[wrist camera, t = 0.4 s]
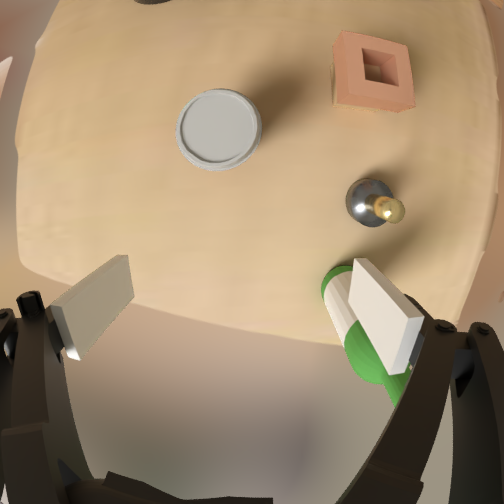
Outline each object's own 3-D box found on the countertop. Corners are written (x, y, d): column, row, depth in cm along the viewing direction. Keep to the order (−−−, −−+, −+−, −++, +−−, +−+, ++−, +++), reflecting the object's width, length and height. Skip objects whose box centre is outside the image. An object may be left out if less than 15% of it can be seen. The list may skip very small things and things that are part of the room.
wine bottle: (367, 295, 44) (455, 428, 15) (326, 311, 45) (382, 464, 16) (357, 256, 42) (468, 380, 13) (313, 273, 43) (379, 428, 14)
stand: (330, 66, 33) (340, 52, 27) (371, 73, 33) (386, 61, 27) (332, 106, 35) (344, 97, 29) (374, 112, 35) (391, 104, 29)
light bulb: (346, 177, 38) (371, 180, 29) (386, 180, 38) (419, 185, 28) (344, 222, 40) (367, 238, 31) (383, 223, 40) (414, 239, 30)
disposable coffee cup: (269, 118, 36) (273, 97, 25) (250, 178, 39) (246, 181, 27) (208, 102, 35) (187, 78, 24) (189, 161, 38) (161, 159, 27)
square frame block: (332, 45, 27) (342, 30, 22) (391, 57, 27) (406, 45, 22) (337, 103, 30) (348, 93, 25) (397, 112, 29) (415, 106, 24)
